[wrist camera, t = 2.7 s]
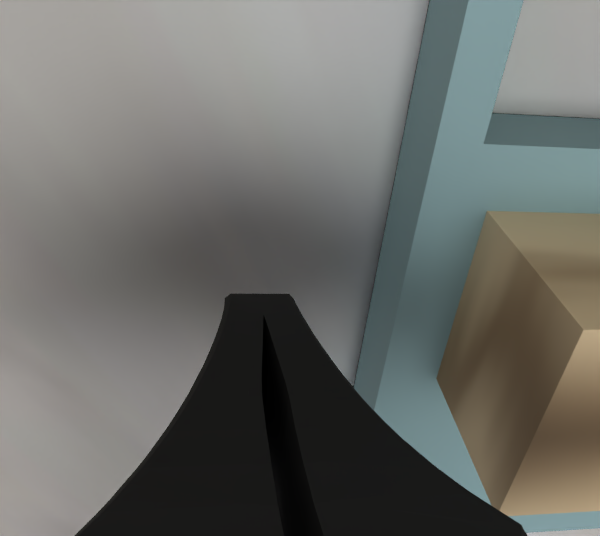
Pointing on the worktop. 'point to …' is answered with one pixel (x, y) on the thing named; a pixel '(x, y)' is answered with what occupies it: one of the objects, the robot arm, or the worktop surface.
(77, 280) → the worktop surface
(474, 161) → the trap deck
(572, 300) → the block
